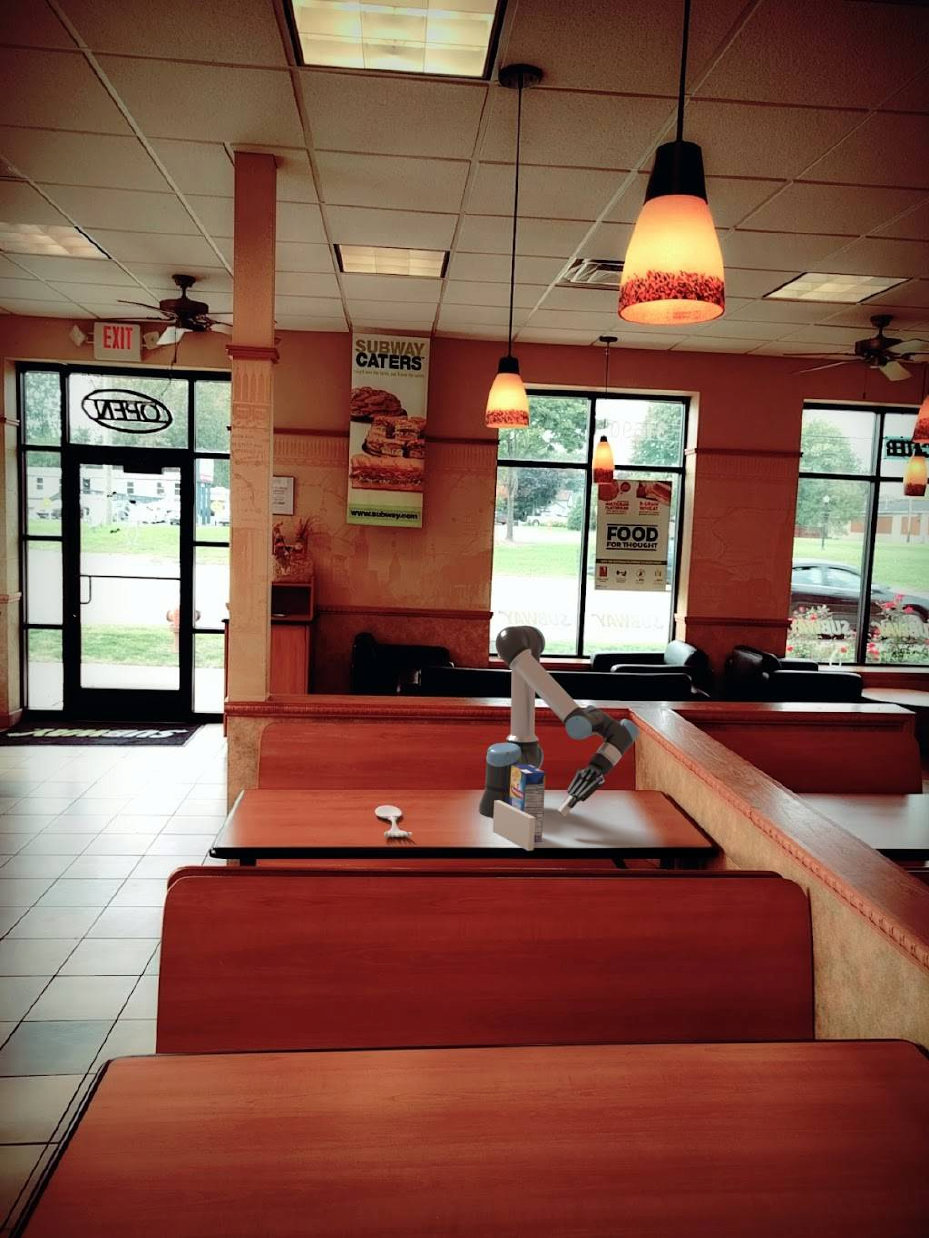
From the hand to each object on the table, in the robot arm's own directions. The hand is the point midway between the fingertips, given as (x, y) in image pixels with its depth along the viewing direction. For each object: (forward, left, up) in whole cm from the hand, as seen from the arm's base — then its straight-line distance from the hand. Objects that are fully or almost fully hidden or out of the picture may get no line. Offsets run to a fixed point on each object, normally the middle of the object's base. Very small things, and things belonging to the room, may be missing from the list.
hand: (561, 813), depth 270 cm
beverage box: (-1, -13, -7) cm, 15 cm away
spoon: (-26, -48, -7) cm, 55 cm away
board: (0, -18, -7) cm, 20 cm away
